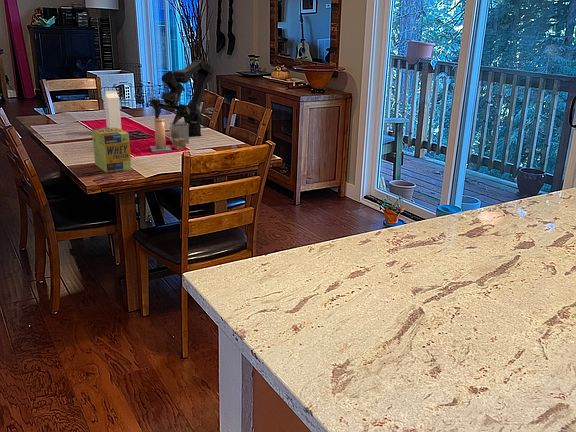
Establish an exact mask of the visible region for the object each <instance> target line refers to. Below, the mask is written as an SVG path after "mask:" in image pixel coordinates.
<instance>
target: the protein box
mask: <svg viewBox="0 0 576 432" xmlns="http://www.w3.org/2000/svg"><path fill="white" fill-rule="evenodd" d="M91 135H92V146H93V157H94V165H95V166H96V167H98V168H99V169H101V170H102V171H103V172H104V173H106V174H110V173H116V172H126V171H131V170H132V161H131V160H132V159H131V158H132V157H131V147H130V145H131V144H130V133H129V132H127V131H125V130H124V129H122V128H121V129H119V128H117V127H109V128H107V127H98V128H97V127H96V128H91Z"/></svg>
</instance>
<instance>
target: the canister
mask: <svg viewBox="0 0 576 432" xmlns="http://www.w3.org/2000/svg"><path fill="white" fill-rule="evenodd" d="M153 120H154V136H155V137H154V139H155V146H156V149H165V148H166V145H167V144H166V143H167V141H166V125H165V124H166V123H165V121H166V119H165V118H163V117H161V118H160V117H158V118H156V119H155V118H154V119H153Z"/></svg>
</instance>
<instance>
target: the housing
mask: <svg viewBox="0 0 576 432" xmlns="http://www.w3.org/2000/svg"><path fill="white" fill-rule="evenodd" d="M189 137H190V136H189V130H188V123H186V122H185V121H177V122H176V123H175V124H173V121H171V122H169V139H170V140H169V141H170V142H171V143H172V145H173V139H176V138H183V139H185V140H186V144H190V138H189Z"/></svg>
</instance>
